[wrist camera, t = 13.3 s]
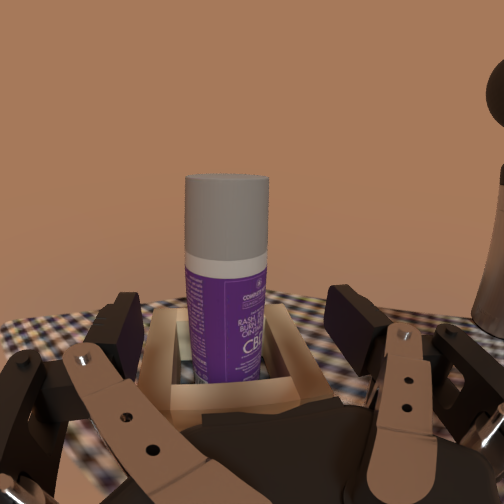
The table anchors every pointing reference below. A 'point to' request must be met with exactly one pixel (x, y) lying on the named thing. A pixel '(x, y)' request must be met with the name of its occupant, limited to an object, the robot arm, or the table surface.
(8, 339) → the table surface
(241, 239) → the container
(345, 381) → the table surface
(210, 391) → the square holder
